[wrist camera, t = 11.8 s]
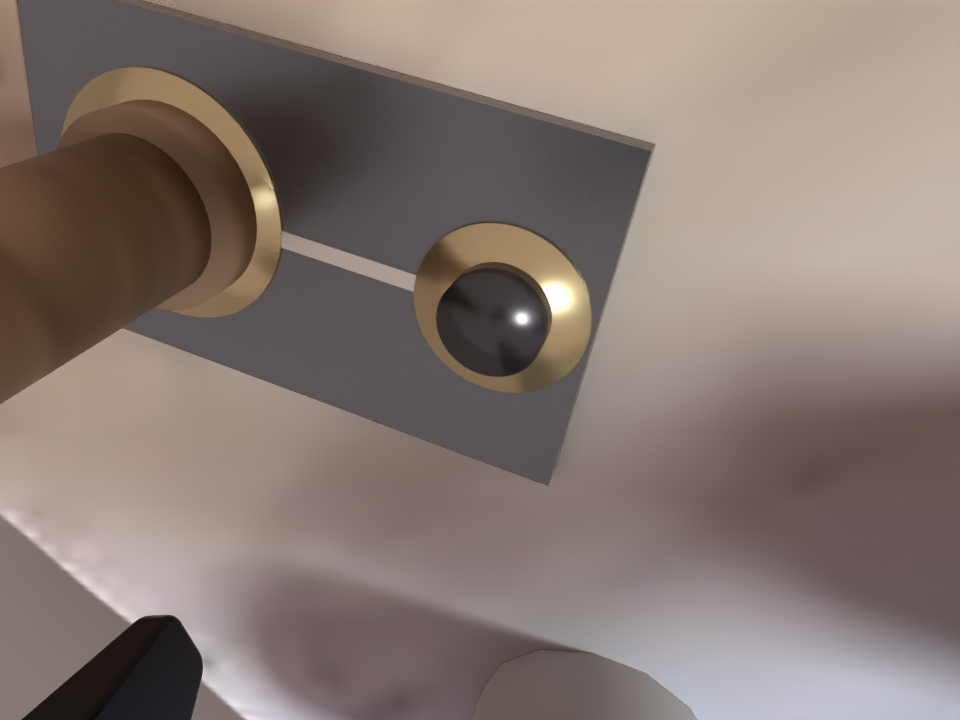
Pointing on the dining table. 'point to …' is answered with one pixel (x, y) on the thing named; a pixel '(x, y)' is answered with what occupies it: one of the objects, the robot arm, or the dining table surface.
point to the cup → (575, 691)
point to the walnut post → (115, 233)
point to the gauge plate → (373, 224)
